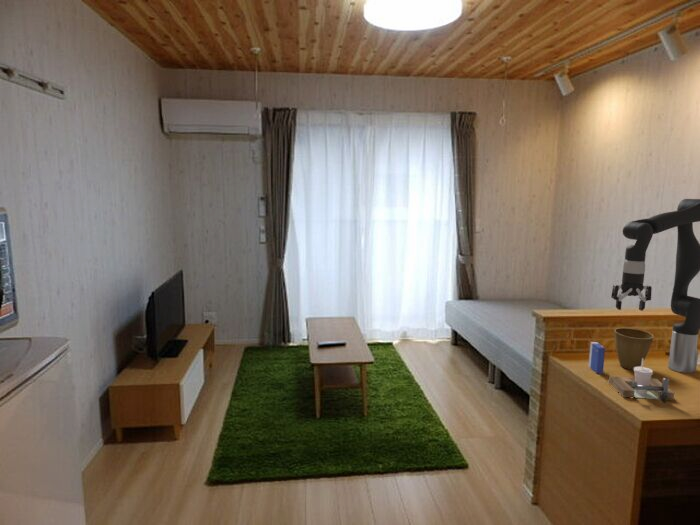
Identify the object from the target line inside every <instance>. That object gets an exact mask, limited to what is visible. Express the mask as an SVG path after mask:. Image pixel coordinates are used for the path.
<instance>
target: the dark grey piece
mask: <svg viewBox="0 0 700 525" xmlns="http://www.w3.org/2000/svg"><path fill="white" fill-rule="evenodd" d="M661 381H662V382H661V383H662V386H643V385H637V382H635V381H632V388H633V389H637V390H656V391H661V397H660V400H659V401H660V402H662V403H667V401H668V400H667V393H668V388H669V384H670V379H669V378H667V377H662V380H661Z"/></svg>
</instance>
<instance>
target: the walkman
mask: <svg viewBox="0 0 700 525" xmlns="http://www.w3.org/2000/svg"><path fill="white" fill-rule="evenodd" d="M605 353H606V348H605V347H604V345H601V344H600V343H599V342H597V341H596V342H595V341H590V345H589V355H588V356H589V357H588V368H589V369H591V371H593V372H594V373H596V374H603V373H604V364H605Z"/></svg>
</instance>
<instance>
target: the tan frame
mask: <svg viewBox="0 0 700 525" xmlns="http://www.w3.org/2000/svg"><path fill="white" fill-rule="evenodd" d="M632 381H635V377H632V376H631V377H629V376H628V377H627V376H625V377H624V376H612V375H611V376H609V378H608V384H609V383H610V384H609V385H610V386H611V385H612V386H613V387H614V388H615V389H616V390H617V391H618V392H619V393H620V394H621V395H622V396H621V395H620V394H619V393H618V392H617V391H616V390H615V389H614V388H613V387H612V386H611V387H612V388H613V389H614V390H615V391H616V392H617V393H618V394H619V395H620V396H621V397H622V398H624V397H633V398H632V399H635V398H634V392H635V391H634V390H633V389H632ZM649 386H662V382H661V381H660V380H659V379H658V378H651V379H650V383H649ZM649 391H650V392H651V393H653V394H654V395H655V396H656V397H657V398H658V399H657V400H659V401H660V397H661V391H656V390H649ZM674 396H675V392H673V390H672V389H670V387H668V393H667V401H674V400H675V397H674Z"/></svg>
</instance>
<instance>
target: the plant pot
mask: <svg viewBox="0 0 700 525" xmlns="http://www.w3.org/2000/svg"><path fill="white" fill-rule="evenodd" d="M653 340H654V335H653V334H652V333H650V332H649V331H646V330H643V329H637V328H632V327H631V328H630V327H618V328H615V329H614V342H615V349H616V355H617V358H618V363H619V365H620V366H621V367H622V368H624V369H628V370H633V371H634V367H638V366H640V367H641V363H642V358H643V359H644V360H643V362H644V361H645V359H646V357H647V355H648V353H649V351H650V348H651V346H652V343H653Z"/></svg>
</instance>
